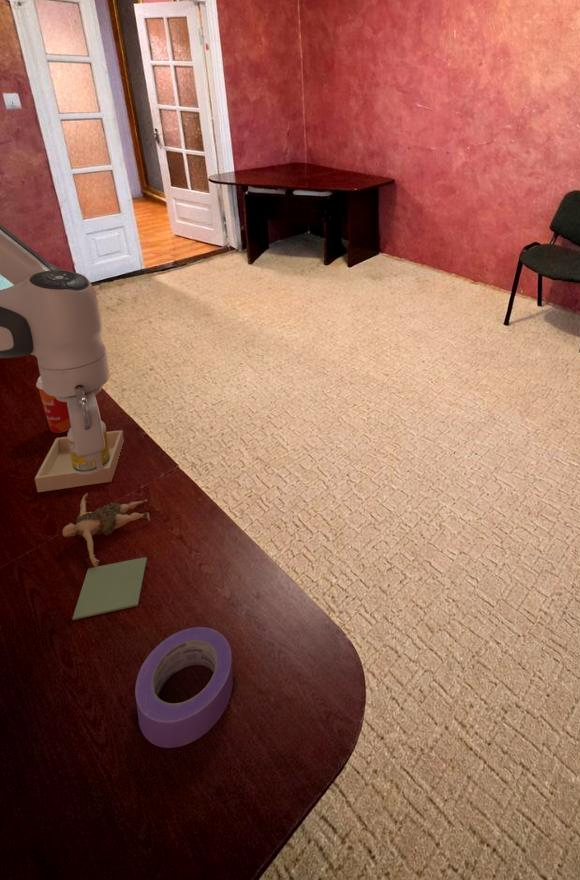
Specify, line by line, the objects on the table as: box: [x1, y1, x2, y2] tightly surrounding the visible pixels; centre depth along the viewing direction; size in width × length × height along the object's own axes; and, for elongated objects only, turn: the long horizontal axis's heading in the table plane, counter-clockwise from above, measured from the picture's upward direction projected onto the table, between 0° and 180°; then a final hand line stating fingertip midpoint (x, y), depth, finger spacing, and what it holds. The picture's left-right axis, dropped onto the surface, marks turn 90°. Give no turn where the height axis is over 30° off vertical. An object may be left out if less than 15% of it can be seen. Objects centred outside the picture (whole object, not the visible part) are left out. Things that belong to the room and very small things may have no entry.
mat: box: [72, 556, 148, 621], centre depth 79 cm, size 9×9×1 cm
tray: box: [34, 429, 125, 493], centre depth 105 cm, size 13×13×4 cm
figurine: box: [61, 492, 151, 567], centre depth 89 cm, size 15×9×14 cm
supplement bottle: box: [66, 420, 110, 475], centre depth 79 cm, size 5×5×10 cm
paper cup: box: [35, 375, 71, 434], centre depth 115 cm, size 8×8×14 cm
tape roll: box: [134, 626, 234, 749], centre depth 65 cm, size 12×12×5 cm
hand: (89, 446), depth 80 cm, fingers closed on supplement bottle, 5 cm apart
